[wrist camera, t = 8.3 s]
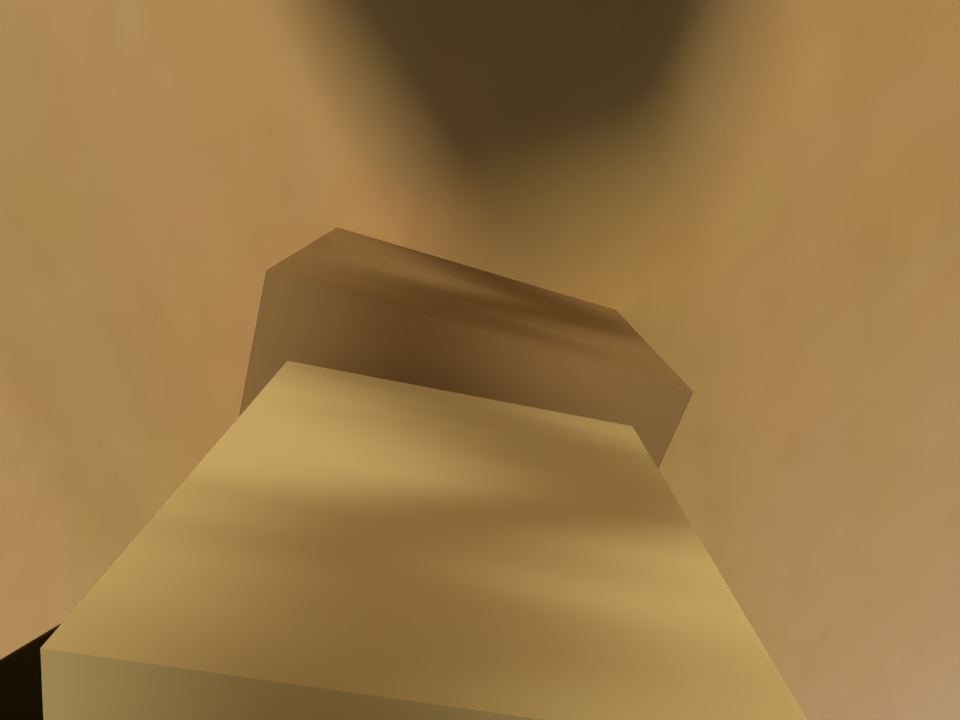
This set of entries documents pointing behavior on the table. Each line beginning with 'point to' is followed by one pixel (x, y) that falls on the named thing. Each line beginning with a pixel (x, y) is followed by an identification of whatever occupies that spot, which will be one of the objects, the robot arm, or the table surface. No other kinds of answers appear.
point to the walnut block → (459, 335)
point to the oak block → (413, 576)
